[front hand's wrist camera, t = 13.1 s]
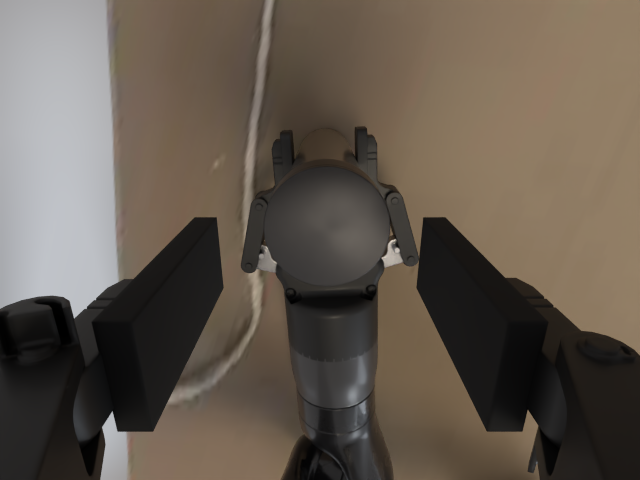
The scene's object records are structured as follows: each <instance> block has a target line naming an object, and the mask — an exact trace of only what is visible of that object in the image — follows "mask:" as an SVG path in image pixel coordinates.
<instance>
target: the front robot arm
mask: <svg viewBox="0 0 640 480" xmlns="http://www.w3.org/2000/svg"><path fill="white" fill-rule="evenodd" d="M222 290H223V278H222V268H221V258H220V247H219V237H218V227H217V217H195V218H194V219H193V220H192V221H191V222H190V223H189V224H188V225H187V226H186V227H185V228H184V229H183V230H182V231H181V232H180V233H179V234H178V235H177V236H176V237H175V238H174V239H173V240H172V241H171V242H170V243H169V244H168V245H167V246H166V247H165V248H164V249H163V250H162V251H161V252H160V253H159V254H158V255H157V256H156V257H155V258H154V259H153V260H152V261H151V262H150V263H149V264H148V265H147V266H146V267H145V268H144V269H143V270H142V271H141V272H140V273H139V274H138V275H137V276H136V277H135V278H134V279H124V280H122V281H120V282H118V283H116V284H114V285H112V286H110V287H108V288H107V289H106V290H105V291H104V292H103V293H101V294H100V295H99V296H98V297H97V298H96V300H94V301H93V302H92V303H91V304H90V305H89V306H87V309H84V310H83V311H82V312H81V313H80V314H79V315H78V316H77V317H76V318H75V319H74V317H73V313H72V309H71V306H70V302H69V300H67V299H65V298H64V297H58V296H42V297H35V298H30V299H26V300H21V301H19V302H16V303H13V304H10V305H7V306H5V307H3V308H1V309H0V480H100V477H101V470H102V464H103V457H104V450H105V438H104V434H103V430H102V426H103V425H104V423H105V422H106V420H107V418H108V417H109V415H110V414H111V412H112V411H113V414H114V418H115V423H116V427H117V431H118V432H119V431H120V432H124V431H125V432H153V431H154V428H155V426H156V424H157V422H158V420H159V418H160V416H161V414H162V412H163V410H164V408H165V406H166V404H167V402H168V400H169V398H170V396H171V394H172V392H173V390H174V388H175V386H176V384H177V382H178V380H179V377H180V375H181V373H182V371H183V369H184V367H185V365H186V363H187V361H188V359H189V357H190V355H191V353H192V351H193V349H194V347H195V345H196V343H197V341H198V339H199V337H200V335H201V333H202V331H203V329H204V326H205V324H206V322H207V320H208V318H209V316H210V314H211V312H212V310H213V308H214V306H215V304H216V302H217V300H218V298H219V296H220V294H221V292H222ZM417 290H418V292H419V294H420V296H421V298H422V300H423V302H424V304H425V306H426V308H427V310H428V312H429V314H430V316H431V318H432V320H433V322H434V324H435V326H436V329H437V331H438V333H439V335H440V337H441V339H442V341H443V343H444V345H445V347H446V349H447V351H448V353H449V355H450V357H451V359H452V361H453V363H454V365H455V367H456V369H457V371H458V373H459V375H460V377H461V380H462V382H463V384H464V386H465V388H466V390H467V392H468V394H469V396H470V398H471V400H472V402H473V404H474V406H475V408H476V410H477V412H478V414H479V416H480V418H481V420H482V422H483V424H484V426H485V428H486V431H487V432H522V431H523V427H524V423H525V418H526V414H527V410H529V412H530V413H531V415H532V416H533V418H534V419H535V421H536V422H537V424H538V430H537V434H536V438H535V441H534V445H533V449H532V453H531V457H530V461H529V466H528V472H531V473H534V470H535V466H536V464H538V469H539V476H540V480H640V355H639V354H638V353H637V352H636V351H635V350H634V349H632V348H631V347H629V346H627V345H626V344H624V343H623V342H621V341H618V340H616V339H613V338H611V337H609V336H606V335H602V334H598V333H594V332H587V331H581V330H580V329H578V328H577V327H576V326H575V325H574V324H573V323H572V322H571V321H570V320H569V319H568V318H567V317H565V316H564V315H563V314H562V313H561V312H560V311H559V310H558V309H557V308H554V307H553V305H552V304H551V303H550V302H549V301H548V300H547V299H544V296H543V295H542V294H540V293H539V292H538V291H537V290H536V289H535V288H534V287H533V286H531V285H529V284H527V283H525V282H523V281H521V280H519V279H517V278H505V277H504V276H503V275H502V274H501V273H500V272H499V271H498V270H497V269H496V268H495V267H494V266H493V265H492V264H491V263H490V262H489V261H488V260H487V259H486V258H485V257H484V256H483V255H482V254H481V253H480V252H479V251H478V250H477V249H476V248H475V247H474V246H473V245H472V244H471V243H470V242H469V241H468V240H467V239H466V238H465V237H464V236H463V235H462V234H461V233H460V232H459V231H458V230H457V229H456V228H455V227H454V226H453V225H452V224H451V223H450V222H449V221H448V220H447V219H446V218H445V217H423V227H422V237H421V247H420V258H419V268H418V278H417Z"/></svg>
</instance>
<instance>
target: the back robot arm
mask: <svg viewBox="0 0 640 480" xmlns="http://www.w3.org/2000/svg"><path fill="white" fill-rule="evenodd" d="M272 157H273V167H274V178H275V186H274V187H273V188H271V189H269V190H266V191H260V192H259V193H258V194H257V195H256V197H255V199H254V200H253V202H252V203H251V208H250V214H249V220H248V226H247V232H246V238H245V244H244V250H243V256H242V262H241V268H242V270H243V271H244V272H246V273H253V272H254V271H255V270H256V269H260V270H265V271H270V272H275V273H276V275H277V277H278V279H279V280H280V281H281V283H282V285H283V288H284V294H285V305H286V315H287V325H288V336H289V346H290V356H291V364H292V370H293V373H294V377H295V381H296V388H297V399H298V410H299V419H300V423H301V428H302V430H303V432H304V434H303V435H302V436H301V437H300V438H299V439H298V440H297V442H296V444H295V446H294V448H293V450H292V452H291V455H290V458H289V461H288V463H287V466H286V469H285V471H284V473H283V476H282V478H281V480H394V476H393V468H392V463H391V459H390V455H389V452H388V449H387V446H386V444H385V441H384V438H383V435H382V433H381V430H380V427H379V423H378V420H377V418H376V415H375V374H376V369H377V358H378V281H379V279H380V277H381V275H382V274H383V271H384V268H386V267H389V266H392V265H396V264H399V263H402V262H404V264H405V265H407V266H414V265H416V264H417V263H418V261H419V256H418V252H417V249H416V245H415V241H414V238H413V234H412V230H411V227H410V223H409V219H408V215H407V212H406V208H405V204H404V201H403V197H402V196H401V194H400V193H399V191H398V190H397V189H396V187H395V186H393V185H386V184H383V183H380V182H378V181H377V143H376V140H375V138H374V136H373V135H367V128H366V127H365V126H362V127H355V158H356V161H357V163H358V165H359V167H360V169H361V170H362V171H363V172H365V173H366V174H367V175H368V176H369V177H370V178H371V179H372V181H373V182H374V183H375V185H376V186H377V188H378V190H379V192H380V193H381V195H382V197H383V199H384V201H385V203H386V206H387V209H388V212H389V217H390V225H391V229H392V232H393V235H392V236H390V237H389V240H388V243H387V246H386V249H385V251H384V253H383V255H382V256H381V258H380V260H379V261H378V262H377V263H376V265H375V266H374V267H373V268H372V269H371V270H369V271H368V272H367V273H366V274H364V275H363V276H361V277H359V278H358V279H356V280H354V281H351V282H349V283H345V284H342V285H336V286H317V285H311V284H308V283H305V282H302V281H300V280H297V279H295V278H294V277H292V276H290V275H289V274H288V273H286V272H285V271H284V270H283V269H282V268H281V267H280V266H279V265H278V264H277V263H276V262H275V260H274V259H273V257H272V256H271V254H270V252H269V250H268V248H267V245H266V242H265V241H264V231H263V221H264V215H265V211H266V208H267V205H268V203H269V201H270V198H271V196H272V194H273V192H274V190H275V188H276V187H277V185H278V184H279V182H280V181H281V180H282V179H283V177H284V176H285V175H286V174H288V173H289V172H290V170H291V168H292V165H293V163H294V161H295V158H294V145H293V133H292V130H284V131H281V132H280V139H276V140H275V141H274V143H273V147H272Z"/></svg>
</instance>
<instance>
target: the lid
mask: <svg viewBox="0 0 640 480" xmlns="http://www.w3.org/2000/svg"><path fill="white" fill-rule="evenodd" d="M263 231H264V238H265V242H266V245H267V248H268V250H269V252H270V254H271V256H272V257H273V259H274V260H275V262H276V263H277V264H278V265H279V266H280V267H281V268H282V269H283V270H284V271H285V272H286V273H288V274H289V275H290V276H292V277H294V278H295V279H297V280H300V281H302V282H305V283H308V284H311V285H317V286H336V285H342V284H345V283H349V282H351V281H354V280H356V279H358V278H359V277H361V276H363V275H364V274H366V273H367V272H368V271H369V270H371V269H372V268H373V267H374V266H375V265H376V263H377V262H378V261H379V260H380V258H381V256H382V255H383V253H384V251H385V249H386V246H387V243H388V240H389V235H390V217H389V212H388V209H387V206H386V203H385V201H384V199H383V197H382V195H381V193H380V192H379V190H378V188H377V186H376V185H375V183H374V182H373V181H372V179H371V178H370V177H369V176H368V175H367V174H366V173H365V172H363V171H362V170H361V169H359V168H358V167H356V166H354V165H352V164H350V163H347V162H344V161H340V160H336V159H318V160H313V161H309V162H306V163H303V164H301V165H299V166H297V167H296V168H294V169H293V170H291V171H290V172H289V173H288V174H286V175H285V176H284V177H283V179H282V180H281V181H280V182H279V184H278V185H277V187H276V188H275V190H274V192H273V194H272V196H271V198H270V201H269V203H268V205H267V208H266V211H265V215H264V221H263Z"/></svg>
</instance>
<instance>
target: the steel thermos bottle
mask: <svg viewBox="0 0 640 480" xmlns="http://www.w3.org/2000/svg"><path fill="white" fill-rule="evenodd" d="M318 159H336V160H340V161H344V162H347V163H350V164H352V165H354V166H356V167H358V168H359V169H360V167H359V165H358V163H357V161H356V158H355V156H354V154H353V152H352V150H351V148H350V145H349V143H348V141H347V140H346V138H345V137H344V136H343V135H342V134H340V133H339V132H337V131H335V130H333V129H327V128H323V129H318V130H315V131H313V132H311V133H310V134H308V135H307V136H306V137H305V139H304V140H303V142H302V144H301V146H300V148H299V151H298V153H297V156H296V158H295V161H294V163H293V165H292V168H291V170H293V169H294V168H296V167H297V166H299V165H301V164H303V163H306V162H309V161H313V160H318ZM291 170H290V171H291Z"/></svg>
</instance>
